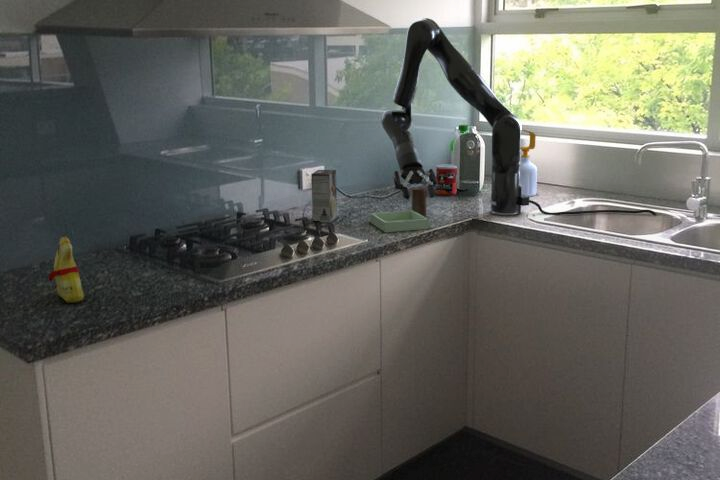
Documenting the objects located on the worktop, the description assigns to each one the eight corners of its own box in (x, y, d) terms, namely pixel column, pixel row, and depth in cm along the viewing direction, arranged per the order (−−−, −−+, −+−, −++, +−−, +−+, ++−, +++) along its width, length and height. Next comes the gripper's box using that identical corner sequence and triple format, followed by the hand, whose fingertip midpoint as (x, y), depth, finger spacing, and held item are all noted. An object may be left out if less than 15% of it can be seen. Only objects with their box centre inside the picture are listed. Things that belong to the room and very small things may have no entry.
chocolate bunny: (73, 290, 202) (67, 230, 199) (88, 301, 194) (82, 239, 190) (44, 295, 198) (38, 235, 195) (58, 307, 190) (52, 244, 186)
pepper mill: (423, 216, 279) (423, 186, 277) (428, 219, 275) (428, 189, 272) (409, 217, 278) (409, 187, 275) (414, 220, 273) (415, 190, 271)
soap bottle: (507, 193, 317) (510, 128, 311) (529, 191, 319) (532, 127, 313) (517, 197, 308) (520, 131, 302) (540, 196, 310) (543, 130, 304)
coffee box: (319, 216, 281) (317, 169, 277) (337, 216, 279) (336, 169, 276) (312, 222, 272) (310, 173, 268) (331, 222, 271) (330, 174, 267)
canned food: (432, 195, 314) (432, 166, 312) (442, 191, 321) (442, 163, 318) (450, 196, 310) (451, 167, 308) (460, 193, 317) (460, 164, 314)
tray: (412, 219, 275) (412, 210, 274) (428, 228, 261) (428, 219, 260) (370, 222, 270) (370, 213, 270) (385, 232, 257) (385, 222, 256)
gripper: (391, 152, 276) (403, 192, 268) (430, 150, 280) (443, 189, 272) (385, 165, 282) (397, 205, 274) (424, 163, 286) (437, 202, 278)
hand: (420, 197), depth 273 cm, fingers open, 8 cm apart
